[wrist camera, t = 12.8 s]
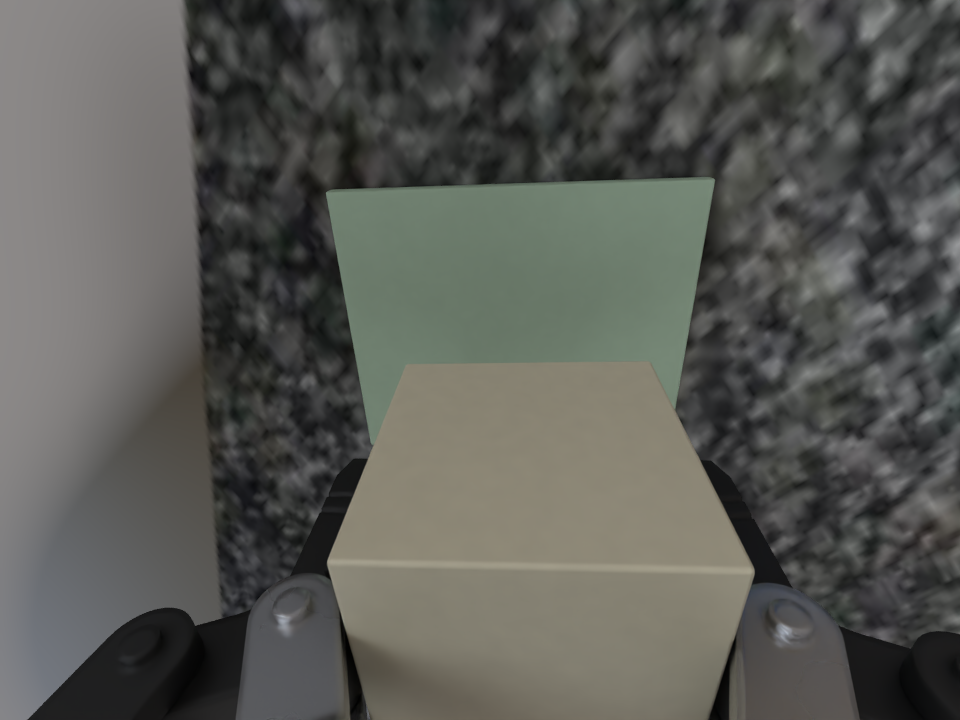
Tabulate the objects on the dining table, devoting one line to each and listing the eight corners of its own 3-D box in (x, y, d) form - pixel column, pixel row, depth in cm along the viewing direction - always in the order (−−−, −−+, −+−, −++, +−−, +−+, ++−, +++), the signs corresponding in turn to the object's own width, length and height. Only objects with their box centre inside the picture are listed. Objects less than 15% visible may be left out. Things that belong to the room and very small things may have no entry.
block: (428, 534, 13) (382, 768, 8) (405, 362, 10) (323, 563, 6) (627, 537, 12) (690, 784, 8) (651, 359, 10) (759, 571, 6)
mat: (373, 437, 21) (370, 445, 20) (330, 189, 16) (325, 192, 16) (665, 438, 20) (669, 445, 20) (710, 176, 15) (715, 179, 15)
